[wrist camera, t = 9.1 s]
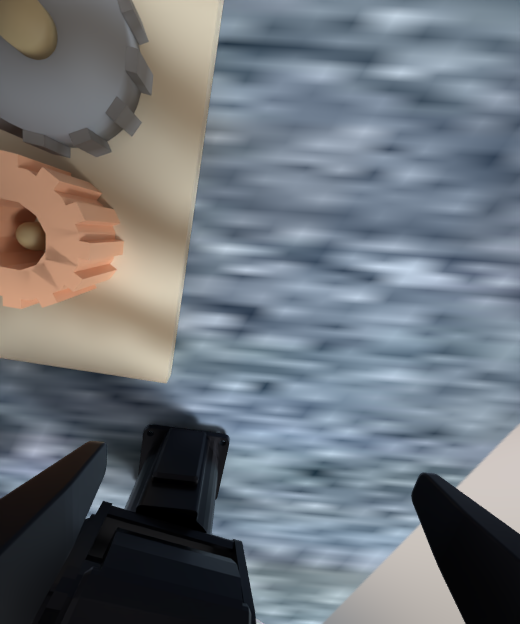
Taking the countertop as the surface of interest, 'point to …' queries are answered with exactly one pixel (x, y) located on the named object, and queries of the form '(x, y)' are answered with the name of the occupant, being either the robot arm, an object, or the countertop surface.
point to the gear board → (111, 163)
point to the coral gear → (52, 234)
